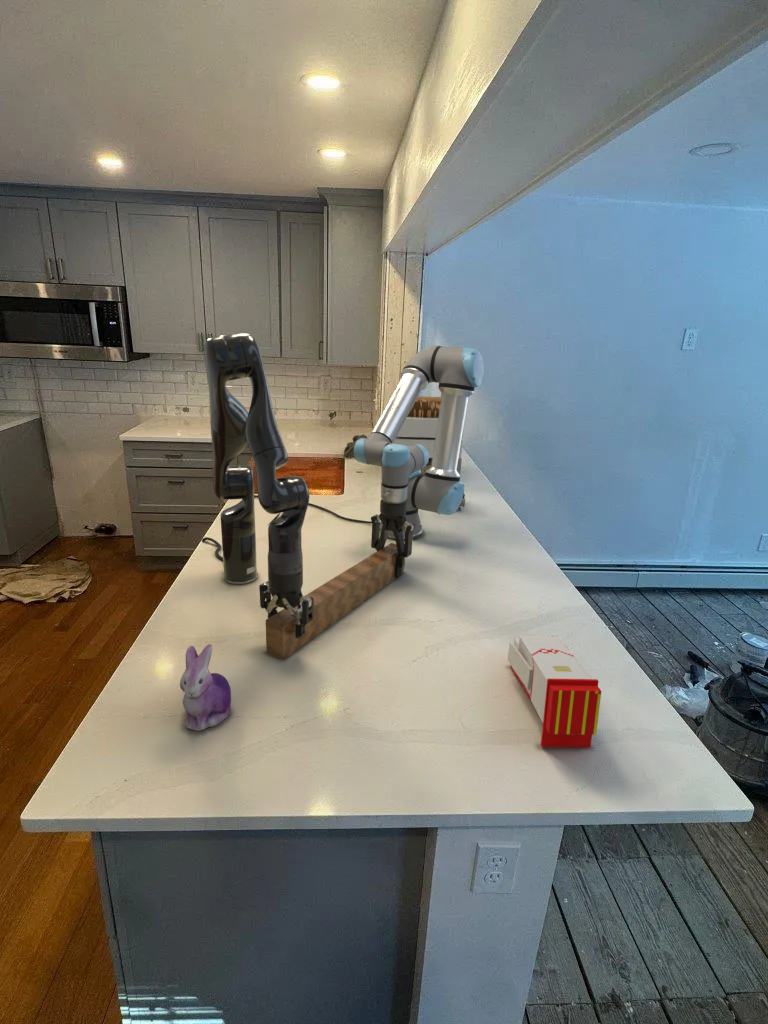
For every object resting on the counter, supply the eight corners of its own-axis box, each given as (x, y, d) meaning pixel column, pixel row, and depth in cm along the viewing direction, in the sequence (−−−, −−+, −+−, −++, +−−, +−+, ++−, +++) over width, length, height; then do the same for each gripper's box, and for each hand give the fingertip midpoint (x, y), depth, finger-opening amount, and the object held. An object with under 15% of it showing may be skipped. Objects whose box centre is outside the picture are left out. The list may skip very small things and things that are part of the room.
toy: (555, 619, 129) (611, 687, 100) (550, 674, 132) (602, 754, 102) (502, 618, 128) (542, 685, 99) (498, 673, 131) (536, 754, 102)
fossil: (343, 440, 315) (365, 425, 310) (354, 454, 317) (375, 439, 312) (337, 454, 295) (359, 438, 290) (348, 468, 298) (371, 453, 293)
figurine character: (465, 515, 224) (460, 499, 237) (467, 498, 221) (462, 483, 234) (448, 515, 224) (444, 499, 237) (450, 498, 220) (445, 482, 234)
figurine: (187, 740, 102) (180, 669, 97) (178, 706, 110) (171, 639, 105) (239, 725, 106) (236, 656, 101) (227, 693, 115) (223, 628, 109)
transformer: (382, 463, 289) (386, 382, 275) (445, 464, 293) (451, 384, 279) (390, 482, 257) (394, 392, 243) (460, 483, 261) (468, 394, 247)
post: (389, 568, 173) (391, 542, 170) (403, 572, 171) (405, 546, 168) (266, 652, 129) (265, 619, 126) (283, 659, 126) (282, 626, 124)
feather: (287, 506, 225) (290, 502, 224) (270, 530, 198) (272, 526, 198) (283, 504, 225) (286, 500, 224) (265, 527, 198) (268, 523, 197)
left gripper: (249, 563, 124) (251, 628, 130) (300, 581, 117) (300, 649, 123) (272, 552, 130) (273, 615, 136) (322, 568, 124) (321, 634, 129)
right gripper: (359, 496, 162) (357, 570, 170) (415, 509, 153) (410, 586, 161) (373, 490, 168) (371, 561, 176) (428, 502, 159) (422, 577, 167)
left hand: (286, 631), depth 129 cm, fingers open, 7 cm apart
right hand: (389, 573), depth 169 cm, fingers closed on post, 5 cm apart
